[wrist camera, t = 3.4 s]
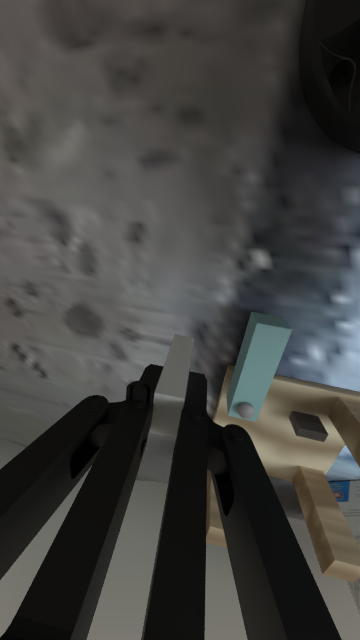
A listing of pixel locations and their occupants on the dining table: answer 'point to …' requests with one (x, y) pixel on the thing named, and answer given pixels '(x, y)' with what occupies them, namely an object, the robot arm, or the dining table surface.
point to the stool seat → (302, 460)
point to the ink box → (350, 519)
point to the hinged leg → (256, 364)
